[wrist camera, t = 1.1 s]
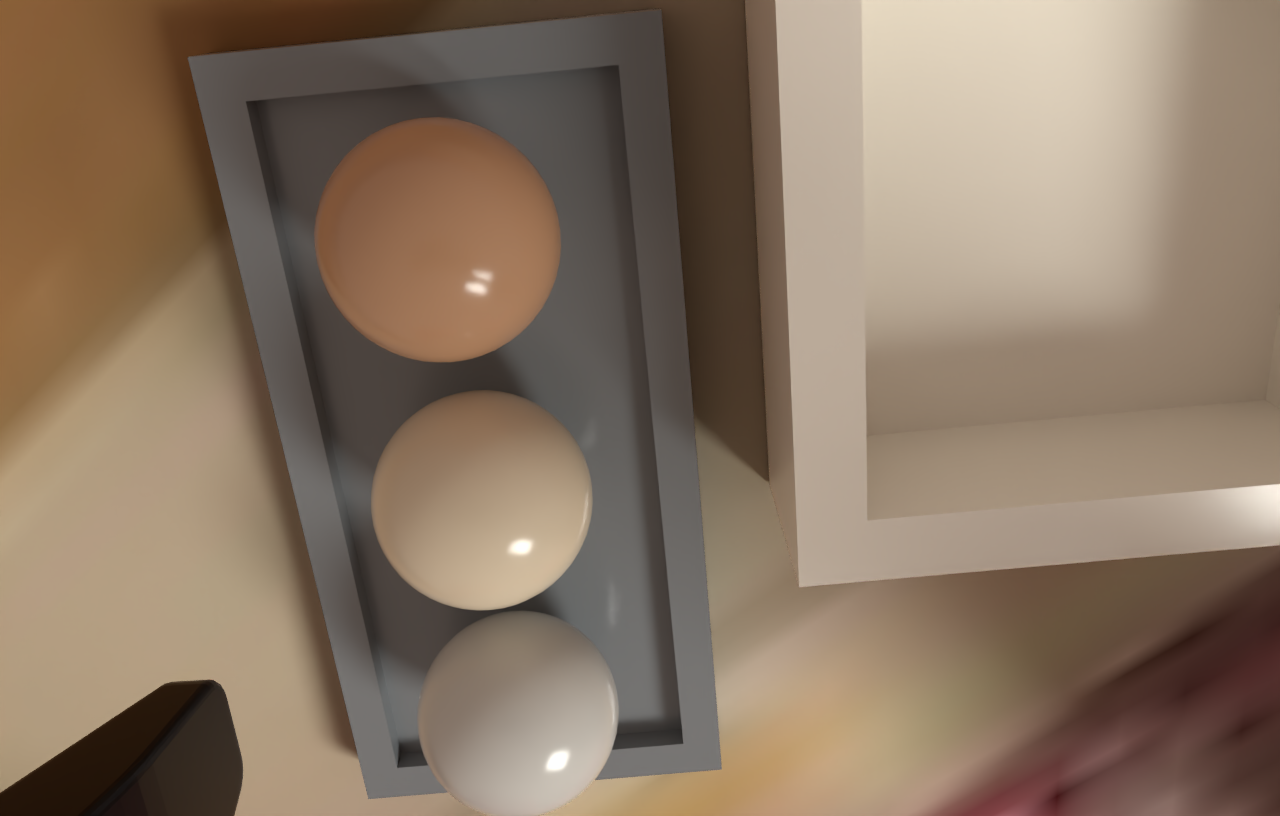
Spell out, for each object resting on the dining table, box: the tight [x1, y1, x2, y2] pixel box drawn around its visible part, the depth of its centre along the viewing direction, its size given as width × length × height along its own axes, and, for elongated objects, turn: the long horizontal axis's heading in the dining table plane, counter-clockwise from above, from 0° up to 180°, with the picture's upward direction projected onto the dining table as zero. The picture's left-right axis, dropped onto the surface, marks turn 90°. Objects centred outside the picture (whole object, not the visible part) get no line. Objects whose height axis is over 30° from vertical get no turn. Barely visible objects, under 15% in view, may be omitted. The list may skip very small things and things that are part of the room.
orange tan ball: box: [314, 117, 561, 363], centre depth 17 cm, size 4×4×4 cm
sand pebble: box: [371, 390, 593, 610], centre depth 19 cm, size 4×4×4 cm
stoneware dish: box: [745, 0, 1280, 587], centre depth 18 cm, size 11×11×4 cm
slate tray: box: [188, 8, 722, 799], centre depth 21 cm, size 16×8×1 cm, turn 5°
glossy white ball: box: [417, 611, 619, 816], centre depth 21 cm, size 4×4×4 cm
